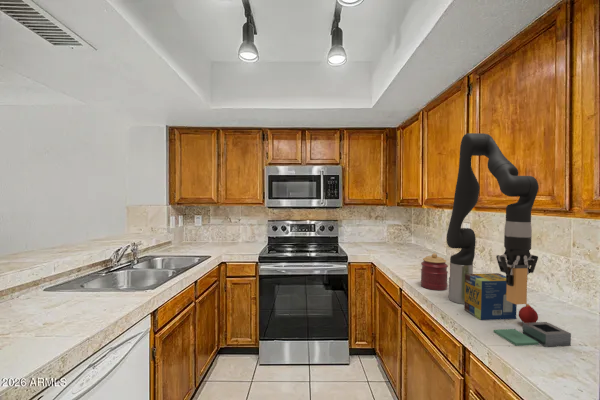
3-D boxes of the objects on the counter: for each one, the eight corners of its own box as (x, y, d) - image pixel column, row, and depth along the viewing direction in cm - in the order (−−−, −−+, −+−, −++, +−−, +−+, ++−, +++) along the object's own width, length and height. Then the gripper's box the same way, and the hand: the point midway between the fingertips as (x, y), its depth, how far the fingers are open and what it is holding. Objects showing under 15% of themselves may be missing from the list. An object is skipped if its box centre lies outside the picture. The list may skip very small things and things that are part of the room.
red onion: (529, 322, 119) (530, 301, 119) (541, 328, 113) (542, 307, 113) (514, 322, 119) (515, 301, 119) (526, 328, 113) (526, 307, 113)
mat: (493, 331, 110) (493, 329, 110) (514, 331, 111) (514, 328, 111) (515, 345, 100) (516, 343, 100) (538, 344, 101) (538, 342, 101)
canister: (442, 283, 169) (443, 251, 168) (451, 291, 156) (452, 256, 155) (417, 282, 170) (418, 250, 169) (424, 290, 157) (425, 255, 156)
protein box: (463, 310, 131) (464, 273, 130) (497, 309, 132) (498, 272, 132) (480, 320, 120) (481, 280, 120) (517, 319, 122) (518, 279, 121)
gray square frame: (522, 334, 109) (522, 322, 109) (545, 333, 110) (546, 321, 110) (545, 346, 100) (545, 334, 100) (570, 345, 101) (571, 333, 101)
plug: (506, 300, 107) (507, 262, 107) (517, 299, 108) (517, 262, 107) (515, 304, 103) (516, 265, 103) (526, 304, 104) (527, 265, 103)
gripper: (527, 233, 109) (526, 281, 110) (490, 233, 108) (489, 282, 108) (546, 236, 102) (545, 288, 102) (506, 236, 100) (505, 289, 101)
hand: (516, 285), depth 105 cm, fingers closed on plug, 4 cm apart
